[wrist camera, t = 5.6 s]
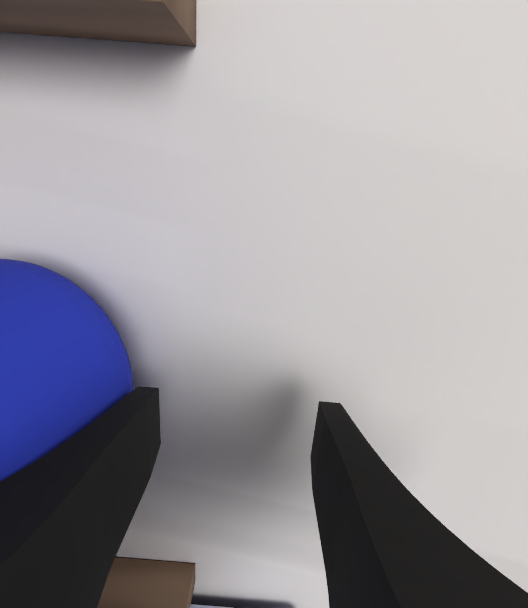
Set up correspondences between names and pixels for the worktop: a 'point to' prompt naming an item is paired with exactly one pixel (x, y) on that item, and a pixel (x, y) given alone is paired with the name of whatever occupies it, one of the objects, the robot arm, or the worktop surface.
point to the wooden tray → (136, 28)
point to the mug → (52, 363)
